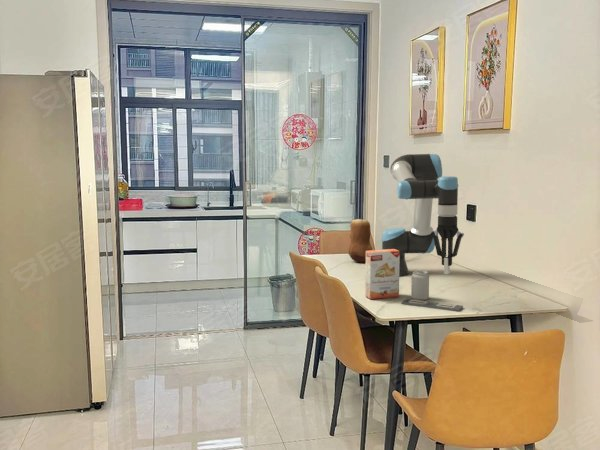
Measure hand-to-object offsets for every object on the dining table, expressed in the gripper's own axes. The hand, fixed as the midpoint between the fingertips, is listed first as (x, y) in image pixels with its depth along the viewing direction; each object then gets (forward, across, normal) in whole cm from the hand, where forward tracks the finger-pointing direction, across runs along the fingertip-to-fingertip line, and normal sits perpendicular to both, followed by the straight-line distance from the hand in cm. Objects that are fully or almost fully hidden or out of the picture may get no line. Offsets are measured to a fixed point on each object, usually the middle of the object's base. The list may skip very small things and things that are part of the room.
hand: (446, 273), depth 225 cm
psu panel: (+14, +6, 0) cm, 16 cm away
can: (+15, +14, -8) cm, 22 cm away
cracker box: (+15, +30, -4) cm, 33 cm away
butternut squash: (+15, +71, -68) cm, 99 cm away
